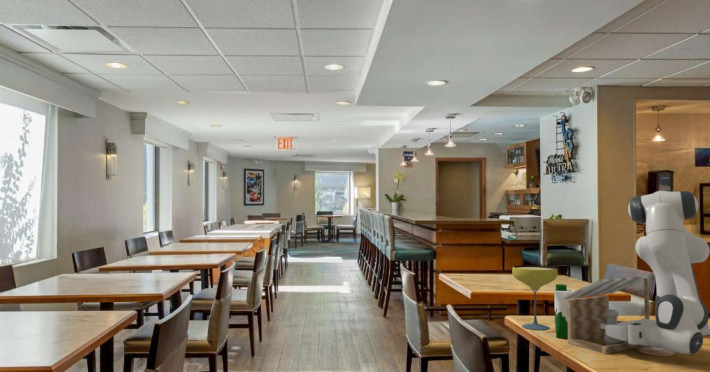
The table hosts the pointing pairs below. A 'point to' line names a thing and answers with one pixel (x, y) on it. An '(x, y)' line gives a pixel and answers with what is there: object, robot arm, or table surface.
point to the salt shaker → (611, 319)
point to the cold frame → (597, 313)
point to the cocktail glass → (535, 284)
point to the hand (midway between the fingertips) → (610, 324)
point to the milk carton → (561, 310)
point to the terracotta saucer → (654, 351)
